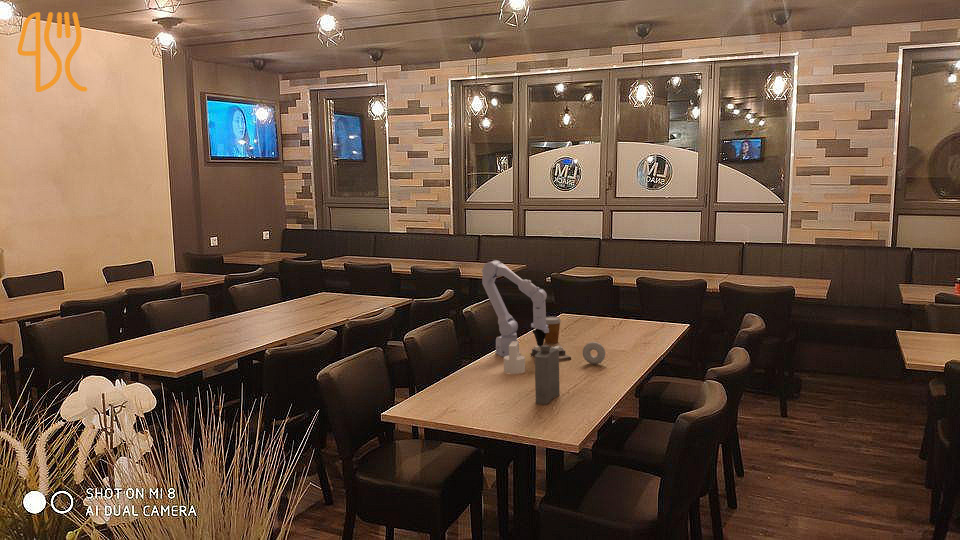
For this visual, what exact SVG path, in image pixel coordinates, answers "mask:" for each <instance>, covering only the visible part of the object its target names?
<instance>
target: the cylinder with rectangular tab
mask: <svg viewBox="0 0 960 540" xmlns="http://www.w3.org/2000/svg"><path fill="white" fill-rule="evenodd" d="M519 353H520V341H518V340H517V341H512V342H511V343H510V345H509V355H508V356H505V357H503V372H504V373H505V374H507V373H510V374H509V375H520V374H519V373H521V374H524V373H526V357H525V355H521V354H520V355H519ZM523 372H524V373H523Z"/></svg>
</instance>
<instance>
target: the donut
mask: <svg viewBox="0 0 960 540" xmlns="http://www.w3.org/2000/svg"><path fill="white" fill-rule="evenodd" d="M591 351H596V352H597V355H596V356H594V355H592V354H591ZM582 356H583V358H584V360H585V361H586V362H587V363H589V364H590V365H598V364H601V363H602V362H604V360H605V358H606V350H605V347H604V346H603V345H602V344H601V343H599V342H597V341H590V342H588V343H586V344H585V345H584V347H583V348H582Z"/></svg>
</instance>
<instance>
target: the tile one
mask: <svg viewBox="0 0 960 540" xmlns="http://www.w3.org/2000/svg"><path fill="white" fill-rule="evenodd" d="M540 347H541V346H538V345H534V348H533V349H534V350H536V351H541V350H540Z"/></svg>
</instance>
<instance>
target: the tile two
mask: <svg viewBox="0 0 960 540" xmlns="http://www.w3.org/2000/svg"><path fill="white" fill-rule="evenodd" d="M550 348H555V349H558V350H559V351H563V350H564V347H563V346H560V345H554V346H550Z"/></svg>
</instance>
